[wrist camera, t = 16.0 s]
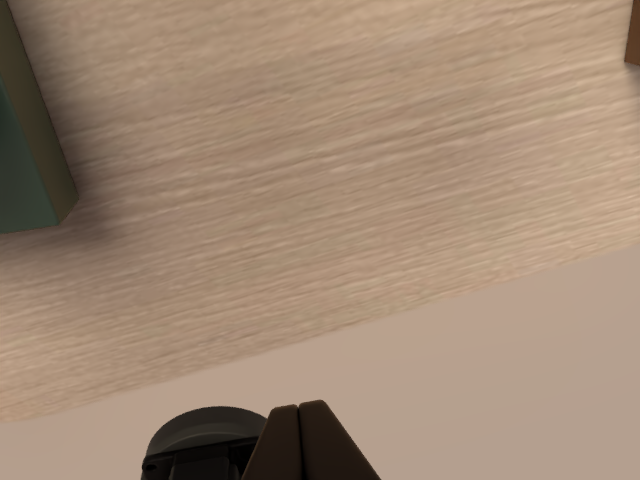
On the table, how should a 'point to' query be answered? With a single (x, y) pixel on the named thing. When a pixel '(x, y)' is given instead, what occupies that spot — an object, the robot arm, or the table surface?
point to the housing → (27, 145)
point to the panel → (634, 36)
